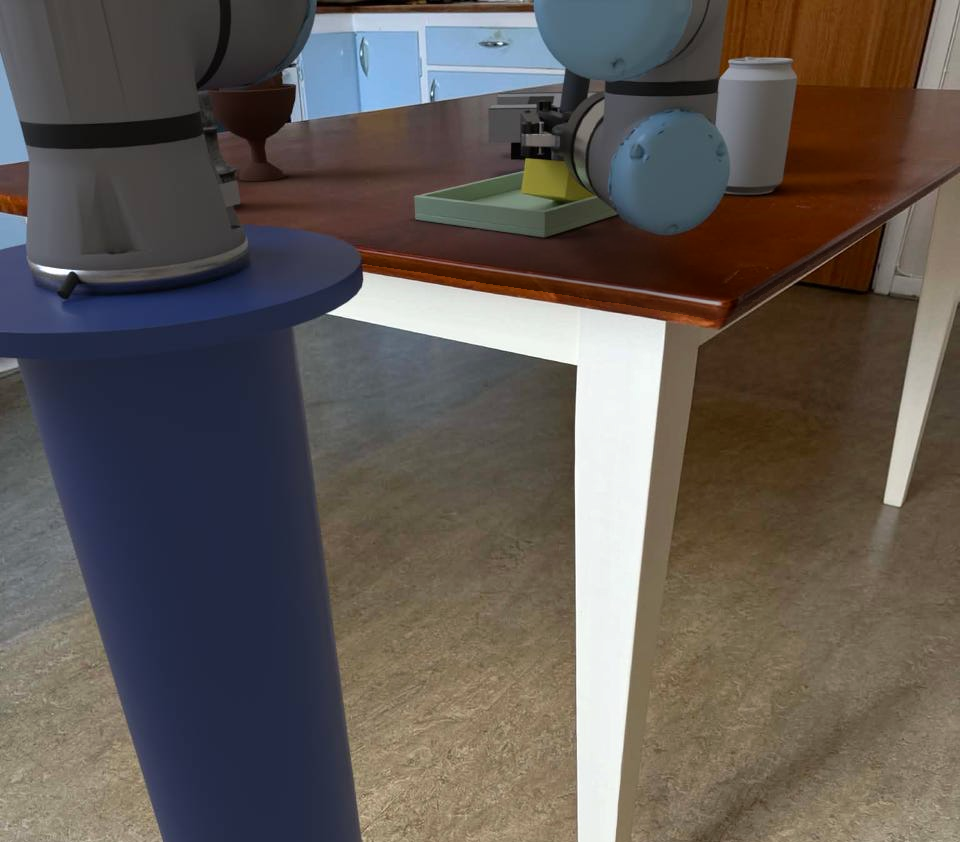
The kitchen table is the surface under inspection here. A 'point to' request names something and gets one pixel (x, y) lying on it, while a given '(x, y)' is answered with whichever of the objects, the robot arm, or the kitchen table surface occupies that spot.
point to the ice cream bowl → (255, 119)
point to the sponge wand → (553, 174)
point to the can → (756, 121)
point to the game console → (508, 119)
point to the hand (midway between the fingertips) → (557, 116)
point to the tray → (507, 208)
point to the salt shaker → (214, 139)
